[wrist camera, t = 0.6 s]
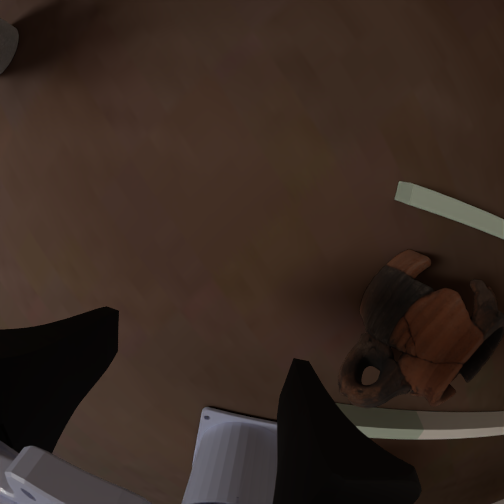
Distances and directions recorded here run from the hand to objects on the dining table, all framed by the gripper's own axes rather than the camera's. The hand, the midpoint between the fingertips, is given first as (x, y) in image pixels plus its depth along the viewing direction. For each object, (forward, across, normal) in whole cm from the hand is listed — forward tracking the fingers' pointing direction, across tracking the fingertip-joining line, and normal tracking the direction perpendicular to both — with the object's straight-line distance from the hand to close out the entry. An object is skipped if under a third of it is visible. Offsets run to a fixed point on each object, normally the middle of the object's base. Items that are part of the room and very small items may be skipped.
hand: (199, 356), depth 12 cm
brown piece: (+10, -13, 0) cm, 16 cm away
